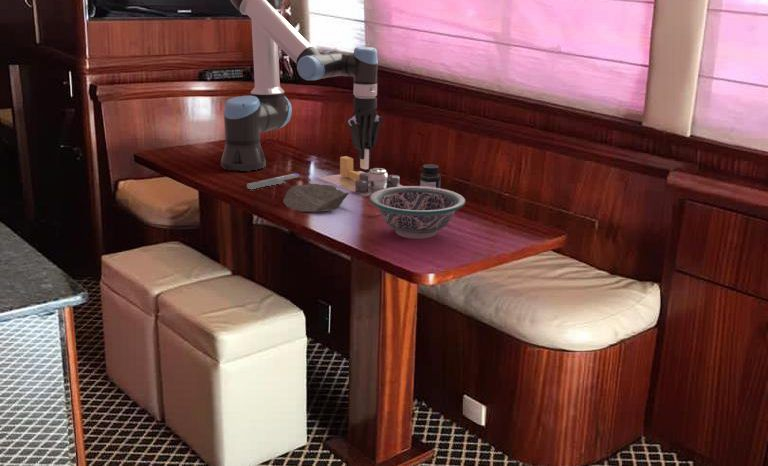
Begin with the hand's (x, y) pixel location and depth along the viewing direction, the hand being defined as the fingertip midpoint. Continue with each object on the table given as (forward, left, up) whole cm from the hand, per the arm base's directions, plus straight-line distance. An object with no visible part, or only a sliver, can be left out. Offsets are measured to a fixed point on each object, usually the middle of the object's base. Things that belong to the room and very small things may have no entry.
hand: (364, 168), depth 279 cm
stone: (+20, -32, -3) cm, 38 cm away
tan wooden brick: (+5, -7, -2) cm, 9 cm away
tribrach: (+9, -7, -3) cm, 12 cm away
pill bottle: (+35, -1, -3) cm, 35 cm away
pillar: (-7, -30, -4) cm, 31 cm away
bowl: (+56, -23, -3) cm, 61 cm away
